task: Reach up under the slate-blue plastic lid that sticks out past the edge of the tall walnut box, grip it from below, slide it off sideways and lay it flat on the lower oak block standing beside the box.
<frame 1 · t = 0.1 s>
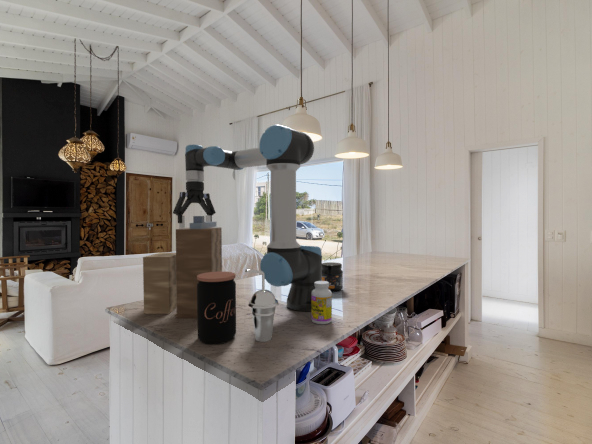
hand: (195, 230, 140), 28 cm above the counter, tool pointing down, fingers open, 13 cm apart
cup with straw: (262, 339, 91), on the counter
supplement container: (331, 290, 149), on the counter
supplement bottle: (321, 322, 105), on the counter
lid: (204, 227, 120), point 30 cm above the counter, touching walnut box
coffee jar: (217, 338, 92), on the counter
walnut box: (200, 311, 116), on the counter
oak block: (164, 308, 121), on the counter
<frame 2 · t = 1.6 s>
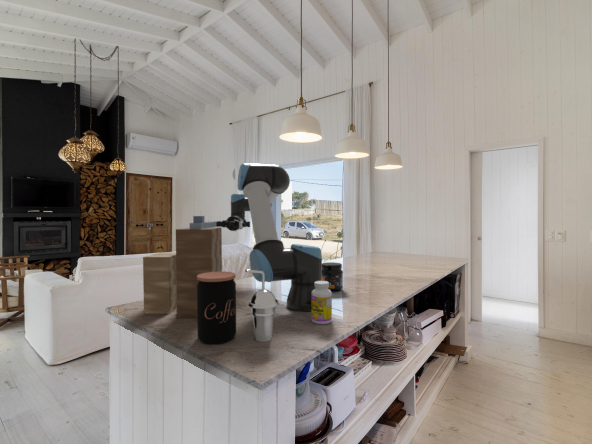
hand: (224, 224, 144), 30 cm above the counter, tool horizontal, fingers open, 13 cm apart
nothing on the counter moved.
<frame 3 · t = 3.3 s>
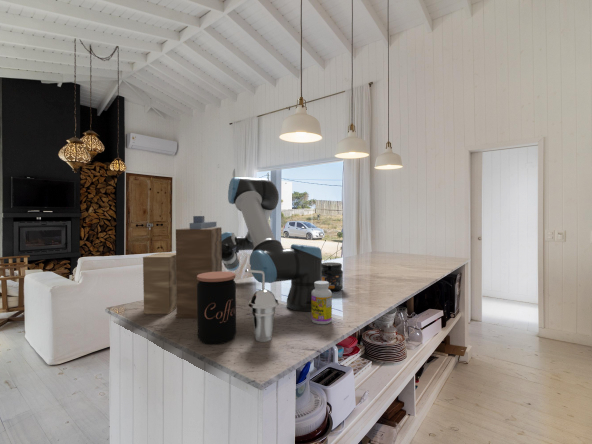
hand: (216, 235, 138), 26 cm above the counter, tool pointing upward, fingers open, 13 cm apart
nothing on the counter moved.
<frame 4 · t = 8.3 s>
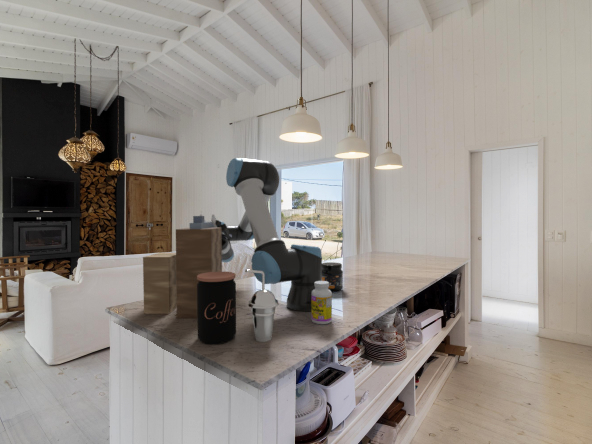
hand: (206, 217, 124), 34 cm above the counter, tool pointing upward, fingers closed on lid, 4 cm apart
lid: (204, 227, 120), point 30 cm above the counter, touching gripper, walnut box
everything else where it was.
when the fingers open (25 cm above the counter, at t = 13.9 s): lid drops 1 cm, resting on oak block.
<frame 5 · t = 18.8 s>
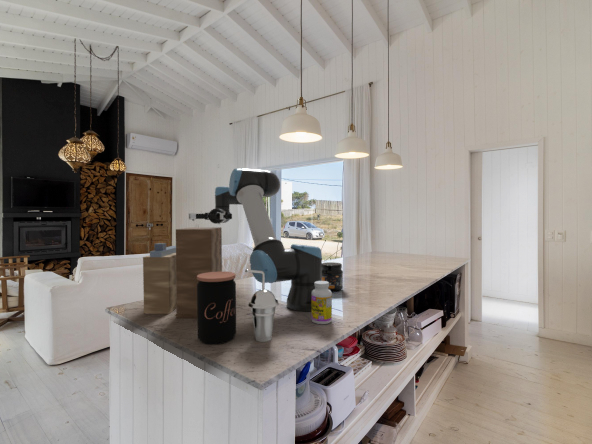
hand: (205, 216, 143), 34 cm above the counter, tool horizontal, fingers open, 13 cm apart
lid: (167, 253, 123), point 20 cm above the counter, touching oak block
everything else where it was.
at the end: lid inside the target area (0.2 cm from its centre), point 20.0 cm above the counter; lid touching oak block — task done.
